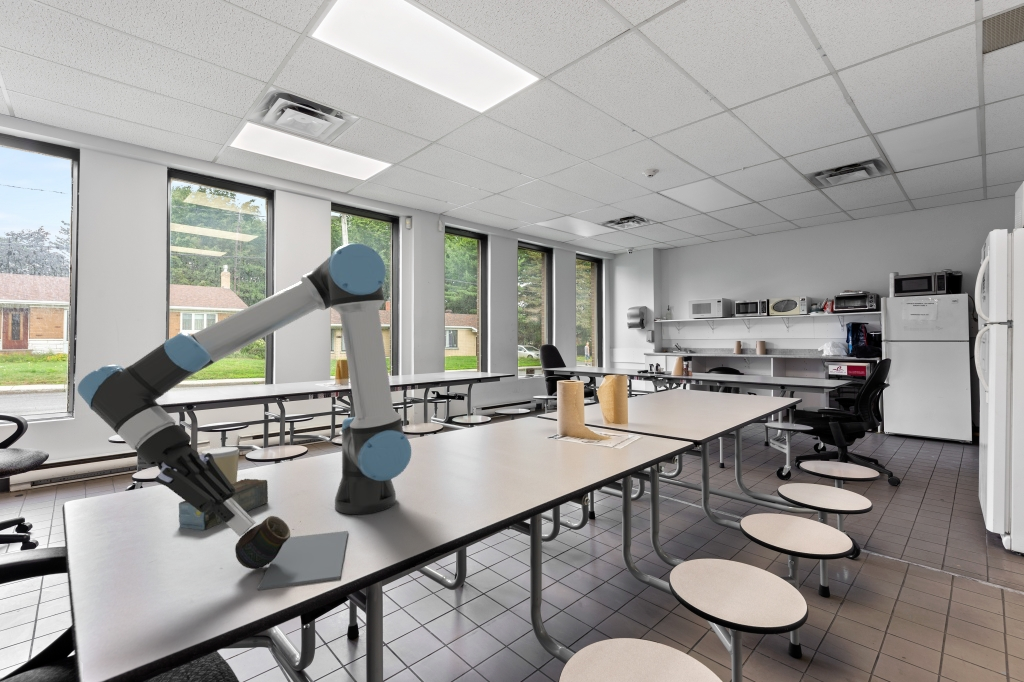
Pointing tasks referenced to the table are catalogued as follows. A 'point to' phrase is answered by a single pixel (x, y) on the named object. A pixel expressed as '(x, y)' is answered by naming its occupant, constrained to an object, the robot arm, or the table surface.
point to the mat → (307, 560)
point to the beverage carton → (246, 496)
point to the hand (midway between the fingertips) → (247, 529)
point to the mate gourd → (262, 543)
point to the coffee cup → (225, 461)
